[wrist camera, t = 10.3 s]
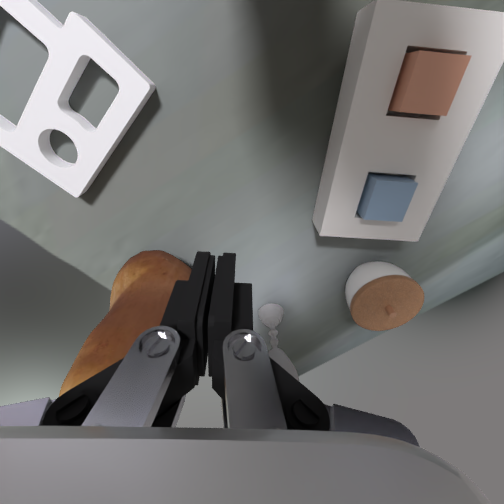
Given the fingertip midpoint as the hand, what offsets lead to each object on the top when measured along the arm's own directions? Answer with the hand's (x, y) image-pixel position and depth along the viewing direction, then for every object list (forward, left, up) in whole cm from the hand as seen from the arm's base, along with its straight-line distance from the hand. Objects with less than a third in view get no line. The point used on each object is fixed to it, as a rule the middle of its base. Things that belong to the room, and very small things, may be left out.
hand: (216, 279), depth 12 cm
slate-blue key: (+3, +19, -23) cm, 30 cm away
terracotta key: (-9, +19, -24) cm, 32 cm away
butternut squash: (+20, -10, -27) cm, 35 cm away
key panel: (-3, +19, -27) cm, 33 cm away
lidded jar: (+19, +24, -27) cm, 41 cm away
